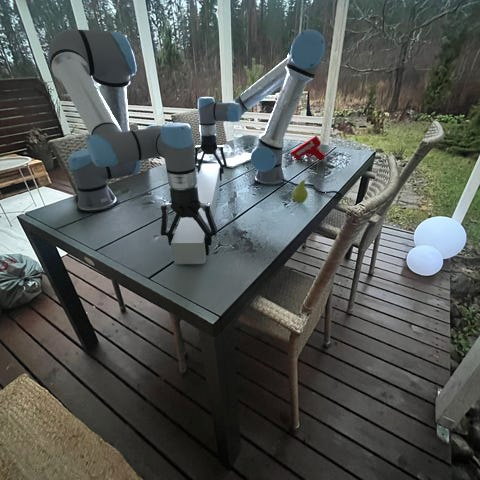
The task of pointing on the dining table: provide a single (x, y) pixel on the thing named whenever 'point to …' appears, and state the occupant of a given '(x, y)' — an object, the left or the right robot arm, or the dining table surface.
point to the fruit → (300, 192)
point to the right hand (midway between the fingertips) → (211, 179)
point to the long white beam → (188, 231)
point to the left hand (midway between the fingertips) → (191, 253)
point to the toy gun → (309, 149)
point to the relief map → (228, 156)
